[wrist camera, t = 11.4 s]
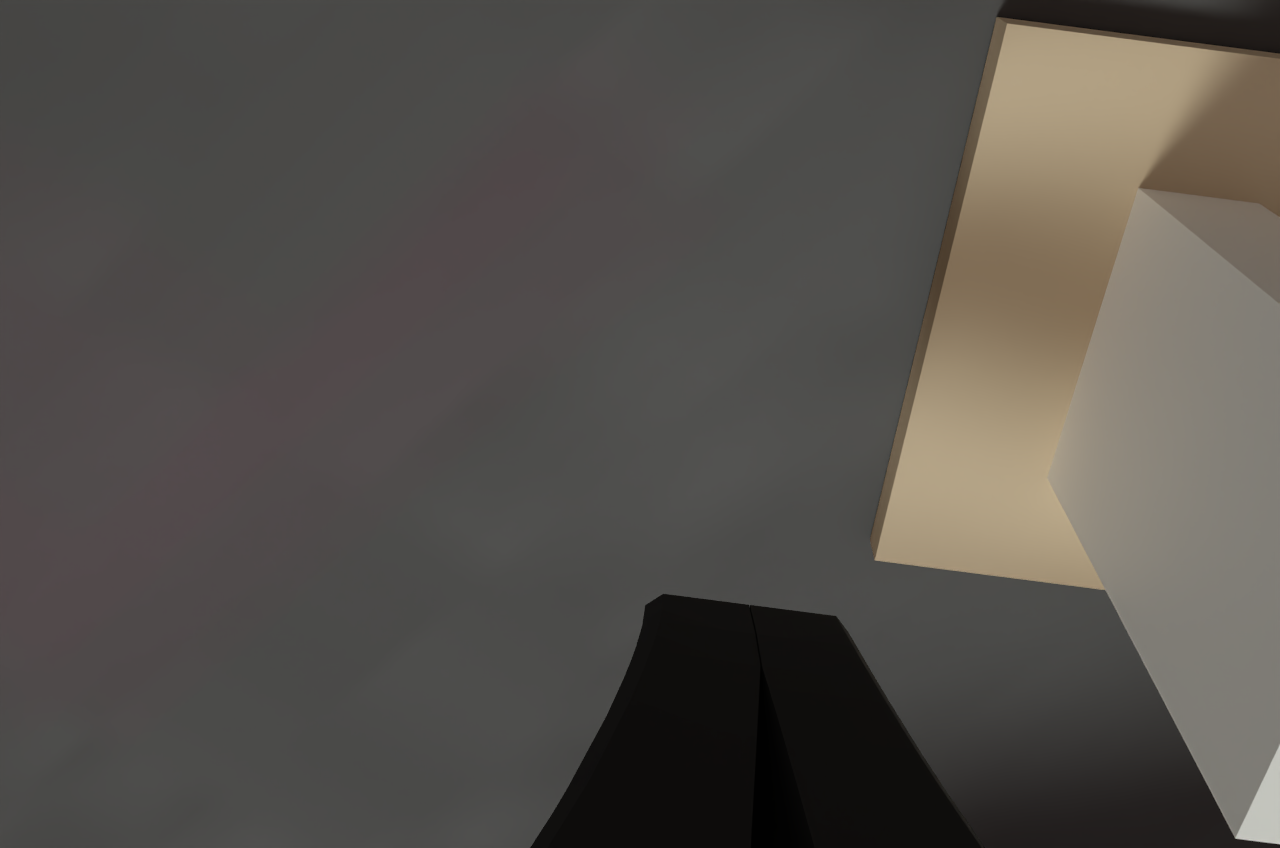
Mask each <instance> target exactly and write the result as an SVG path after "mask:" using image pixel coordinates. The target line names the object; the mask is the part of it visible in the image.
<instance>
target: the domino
mask: <svg viewBox="0 0 1280 848" xmlns="http://www.w3.org/2000/svg"><path fill="white" fill-rule="evenodd" d="M1047 479H1048V481H1049V483H1050V485H1051V486H1052V488H1053V490H1054V492H1055V494H1056V496H1057V498H1058V500H1059V502H1060V504H1061V506H1062V508H1063V509H1064V511H1065V513H1066V515H1067V517H1068V519H1069V521H1070V523H1071V525H1072V527H1073V529H1074V531H1075V532H1076V534H1077V536H1078V538H1079V540H1080V542H1081V544H1082V546H1083V548H1084V550H1085V552H1086V554H1087V555H1088V557H1089V559H1090V561H1091V563H1092V565H1093V567H1094V569H1095V571H1096V573H1097V575H1098V577H1099V578H1100V580H1101V582H1102V584H1103V586H1104V588H1105V590H1106V592H1107V594H1108V596H1109V598H1110V600H1111V601H1112V603H1113V605H1114V607H1115V609H1116V611H1117V613H1118V615H1119V617H1120V619H1121V621H1122V623H1123V624H1124V626H1125V628H1126V630H1127V632H1128V634H1129V636H1130V638H1131V640H1132V642H1133V644H1134V646H1135V647H1136V649H1137V651H1138V653H1139V655H1140V657H1141V659H1142V661H1143V663H1144V665H1145V667H1146V669H1147V670H1148V672H1149V674H1150V676H1151V678H1152V680H1153V682H1154V684H1155V686H1156V688H1157V690H1158V692H1159V693H1160V695H1161V697H1162V699H1163V701H1164V703H1165V705H1166V707H1167V709H1168V711H1169V713H1170V715H1171V716H1172V718H1173V720H1174V722H1175V724H1176V726H1177V728H1178V730H1179V732H1180V734H1181V736H1182V738H1183V739H1184V741H1185V743H1186V745H1187V747H1188V749H1189V751H1190V753H1191V755H1192V757H1193V759H1194V761H1195V762H1196V764H1197V766H1198V768H1199V770H1200V772H1201V774H1202V776H1203V778H1204V780H1205V782H1206V783H1207V785H1208V787H1209V789H1210V791H1211V793H1212V795H1213V797H1214V799H1215V801H1216V803H1217V805H1218V806H1219V808H1220V810H1221V812H1222V814H1223V816H1224V818H1225V820H1226V822H1227V824H1228V826H1229V828H1230V829H1231V831H1232V833H1233V835H1234V837H1235V839H1243V840H1250V841H1258V842H1266V843H1274V844H1280V217H1279V216H1277V215H1276V214H1274V213H1273V212H1271V211H1270V210H1268V209H1267V208H1265V207H1264V206H1262V205H1261V204H1259V203H1252V202H1244V201H1236V200H1229V199H1221V198H1213V197H1206V196H1198V195H1190V194H1183V193H1175V192H1167V191H1159V190H1152V189H1144V188H1138V190H1137V193H1136V196H1135V200H1134V203H1133V206H1132V209H1131V212H1130V216H1129V219H1128V222H1127V225H1126V228H1125V231H1124V235H1123V238H1122V241H1121V244H1120V247H1119V251H1118V254H1117V257H1116V260H1115V263H1114V266H1113V270H1112V273H1111V276H1110V279H1109V282H1108V286H1107V289H1106V292H1105V295H1104V298H1103V301H1102V305H1101V308H1100V311H1099V314H1098V317H1097V321H1096V324H1095V327H1094V330H1093V333H1092V336H1091V340H1090V343H1089V346H1088V349H1087V352H1086V356H1085V359H1084V362H1083V365H1082V368H1081V371H1080V375H1079V378H1078V381H1077V384H1076V387H1075V391H1074V394H1073V397H1072V400H1071V403H1070V406H1069V410H1068V413H1067V416H1066V419H1065V422H1064V426H1063V429H1062V432H1061V435H1060V438H1059V441H1058V445H1057V448H1056V451H1055V454H1054V457H1053V461H1052V464H1051V467H1050V470H1049V473H1048V476H1047Z"/></svg>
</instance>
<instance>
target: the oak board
mask: <svg viewBox="0 0 1280 848" xmlns="http://www.w3.org/2000/svg"><path fill="white" fill-rule="evenodd" d="M1138 188H1144V189H1152V190H1159V191H1167V192H1175V193H1183V194H1190V195H1198V196H1206V197H1213V198H1221V199H1229V200H1236V201H1244V202H1252V203H1259V204H1261V205H1262V206H1264V207H1265V208H1267V209H1268V210H1270V211H1271V212H1273V213H1274V214H1276V215H1277V216H1279V217H1280V54H1278V53H1271V52H1263V51H1255V50H1248V49H1240V48H1232V47H1225V46H1217V45H1209V44H1202V43H1194V42H1186V41H1179V40H1171V39H1163V38H1156V37H1148V36H1140V35H1132V34H1125V33H1117V32H1109V31H1102V30H1094V29H1086V28H1079V27H1071V26H1063V25H1056V24H1048V23H1040V22H1033V21H1025V20H1017V19H1009V18H1002V17H997V18H996V22H995V26H994V30H993V34H992V38H991V43H990V47H989V51H988V55H987V59H986V63H985V67H984V71H983V76H982V80H981V84H980V88H979V92H978V96H977V100H976V104H975V109H974V113H973V117H972V121H971V125H970V129H969V133H968V137H967V142H966V146H965V150H964V154H963V158H962V162H961V166H960V170H959V175H958V179H957V183H956V187H955V191H954V195H953V199H952V203H951V208H950V212H949V216H948V220H947V224H946V228H945V232H944V236H943V241H942V245H941V249H940V253H939V257H938V261H937V265H936V269H935V274H934V278H933V282H932V286H931V290H930V294H929V298H928V303H927V307H926V311H925V315H924V319H923V323H922V327H921V331H920V336H919V340H918V344H917V348H916V352H915V356H914V360H913V364H912V369H911V373H910V377H909V381H908V385H907V389H906V393H905V397H904V402H903V406H902V410H901V414H900V418H899V422H898V426H897V430H896V435H895V439H894V443H893V447H892V451H891V455H890V459H889V463H888V468H887V472H886V476H885V480H884V484H883V488H882V492H881V496H880V501H879V505H878V509H877V513H876V517H875V521H874V525H873V529H872V534H871V538H870V542H871V546H872V550H873V555H874V559H875V560H876V561H884V562H892V563H900V564H907V565H915V566H923V567H931V568H938V569H946V570H954V571H962V572H969V573H977V574H985V575H993V576H1000V577H1008V578H1016V579H1024V580H1032V581H1039V582H1047V583H1055V584H1063V585H1070V586H1078V587H1086V588H1094V589H1101V590H1105V588H1104V586H1103V584H1102V582H1101V580H1100V578H1099V577H1098V575H1097V573H1096V571H1095V569H1094V567H1093V565H1092V563H1091V561H1090V559H1089V557H1088V555H1087V554H1086V552H1085V550H1084V548H1083V546H1082V544H1081V542H1080V540H1079V538H1078V536H1077V534H1076V532H1075V531H1074V529H1073V527H1072V525H1071V523H1070V521H1069V519H1068V517H1067V515H1066V513H1065V511H1064V509H1063V508H1062V506H1061V504H1060V502H1059V500H1058V498H1057V496H1056V494H1055V492H1054V490H1053V488H1052V486H1051V485H1050V483H1049V481H1048V479H1047V476H1048V473H1049V470H1050V467H1051V464H1052V461H1053V457H1054V454H1055V451H1056V448H1057V445H1058V441H1059V438H1060V435H1061V432H1062V429H1063V426H1064V422H1065V419H1066V416H1067V413H1068V410H1069V406H1070V403H1071V400H1072V397H1073V394H1074V391H1075V387H1076V384H1077V381H1078V378H1079V375H1080V371H1081V368H1082V365H1083V362H1084V359H1085V356H1086V352H1087V349H1088V346H1089V343H1090V340H1091V336H1092V333H1093V330H1094V327H1095V324H1096V321H1097V317H1098V314H1099V311H1100V308H1101V305H1102V301H1103V298H1104V295H1105V292H1106V289H1107V286H1108V282H1109V279H1110V276H1111V273H1112V270H1113V266H1114V263H1115V260H1116V257H1117V254H1118V251H1119V247H1120V244H1121V241H1122V238H1123V235H1124V231H1125V228H1126V225H1127V222H1128V219H1129V216H1130V212H1131V209H1132V206H1133V203H1134V200H1135V196H1136V193H1137V190H1138Z"/></svg>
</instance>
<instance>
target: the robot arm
mask: <svg viewBox="0 0 1280 848" xmlns="http://www.w3.org/2000/svg"><path fill="white" fill-rule="evenodd" d="M531 848H985V847H984V846H983V844H982V843H981V842H980V840H979V839H978V837H977V836H976V834H975V833H974V831H973V830H972V828H971V827H970V825H969V824H968V823H967V821H966V820H965V818H964V817H963V815H962V814H961V812H960V811H959V809H958V808H957V806H956V805H955V804H954V802H953V801H952V799H951V798H950V796H949V795H948V793H947V792H946V790H945V789H944V787H943V786H942V784H941V783H940V781H939V780H938V778H937V777H936V775H935V774H934V772H933V771H932V769H931V767H930V766H929V764H928V763H927V761H926V760H925V758H924V757H923V755H922V754H921V752H920V750H919V749H918V747H917V746H916V744H915V742H914V741H913V739H912V738H911V736H910V734H909V733H908V731H907V730H906V728H905V726H904V725H903V723H902V722H901V720H900V718H899V717H898V715H897V714H896V712H895V710H894V709H893V707H892V705H891V704H890V702H889V700H888V699H887V697H886V695H885V694H884V692H883V690H882V689H881V687H880V685H879V684H878V682H877V680H876V679H875V677H874V675H873V674H872V672H871V670H870V669H869V667H868V665H867V664H866V662H865V660H864V658H863V657H862V655H861V653H860V652H859V650H858V648H857V646H856V645H855V643H854V641H853V640H852V638H851V636H850V635H849V633H848V631H847V630H846V629H845V627H844V626H843V625H842V623H841V622H840V621H839V619H838V618H837V617H836V616H831V615H823V614H815V613H807V612H800V611H792V610H784V609H776V608H769V607H761V606H753V605H750V608H749V605H745V604H738V603H730V602H722V601H714V600H707V599H699V598H691V597H683V596H676V595H668V594H663V595H661V596H659V597H658V598H656V599H655V600H653V601H651V602H650V603H648V604H647V605H645V611H644V618H643V625H642V629H641V632H640V635H639V639H638V642H637V646H636V649H635V651H634V654H633V657H632V660H631V662H630V665H629V667H628V670H627V672H626V675H625V677H624V679H623V681H622V684H621V686H620V688H619V690H618V692H617V695H616V697H615V699H614V701H613V703H612V705H611V708H610V710H609V712H608V714H607V716H606V718H605V720H604V722H603V724H602V726H601V727H600V729H599V731H598V733H597V735H596V737H595V739H594V740H593V742H592V744H591V746H590V748H589V750H588V751H587V753H586V755H585V757H584V759H583V761H582V763H581V764H580V766H579V768H578V770H577V772H576V774H575V775H574V777H573V779H572V781H571V783H570V785H569V787H568V788H567V790H566V792H565V793H564V795H563V797H562V799H561V800H560V802H559V804H558V805H557V807H556V809H555V810H554V812H553V813H552V815H551V817H550V818H549V820H548V821H547V823H546V824H545V826H544V827H543V829H542V830H541V832H540V834H539V835H538V837H537V838H536V840H535V841H534V843H533V844H532V846H531Z"/></svg>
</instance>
